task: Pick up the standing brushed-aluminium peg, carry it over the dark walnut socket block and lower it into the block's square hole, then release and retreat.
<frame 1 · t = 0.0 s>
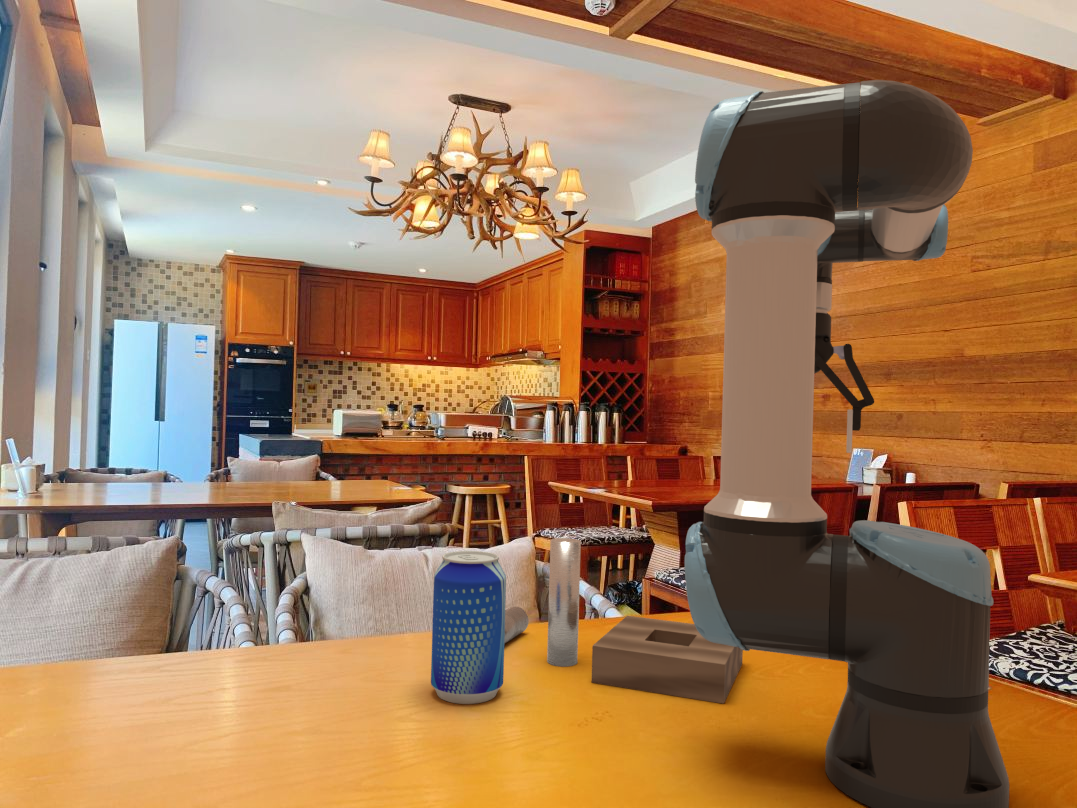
hand: (801, 450, 124), 28 cm above the table, fingers open, 13 cm apart
socket block: (670, 672, 103), on the table
peg: (562, 661, 106), on the table
beer can: (466, 694, 93), on the table
lying peg: (498, 643, 114), on the table
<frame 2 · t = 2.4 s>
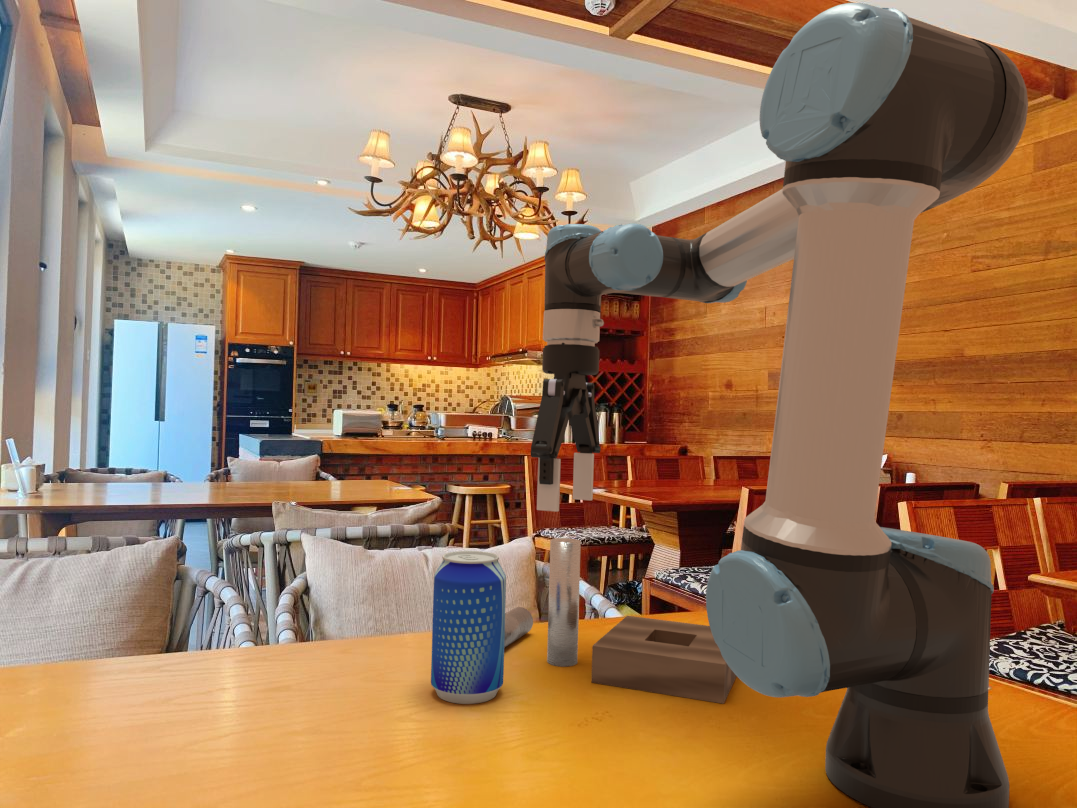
hand: (566, 505, 106), 21 cm above the table, fingers open, 13 cm apart
lying peg: (498, 642, 114), on the table, tilted 22°
everything else where it was.
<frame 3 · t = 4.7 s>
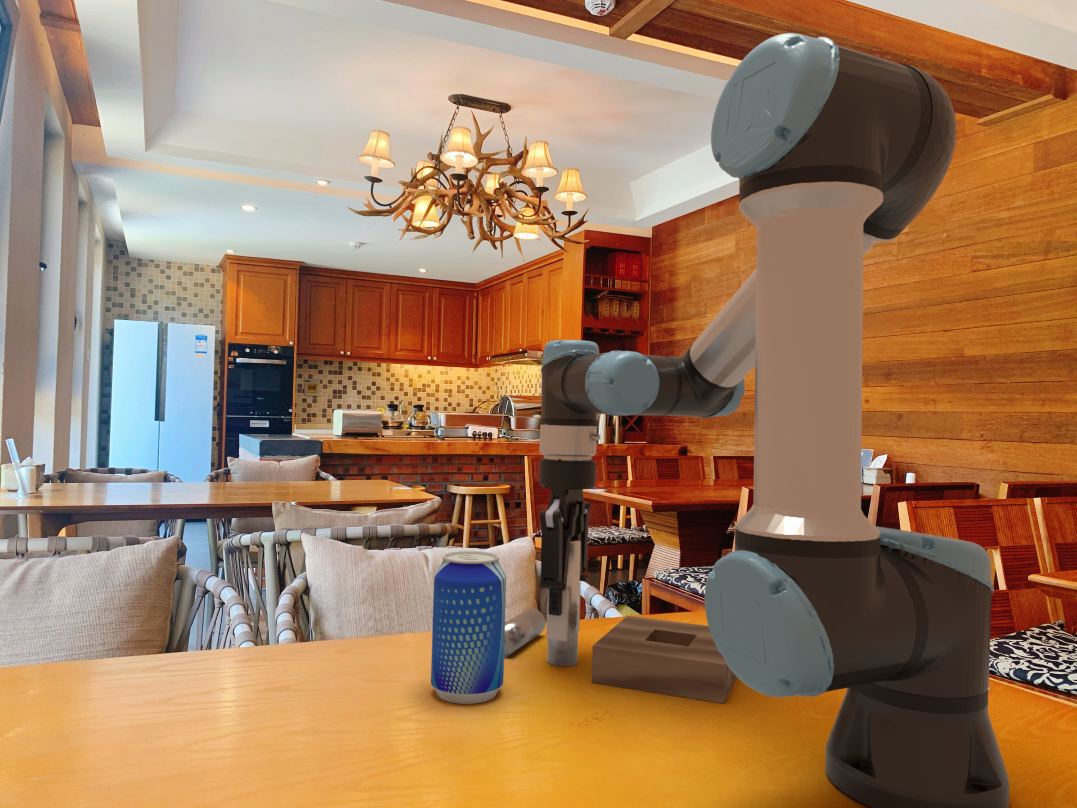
hand: (563, 634, 106), 4 cm above the table, fingers closed on peg, 4 cm apart
peg: (562, 661, 106), on the table, touching gripper
lying peg: (504, 632, 113), point 2 cm above the table, tilted 82°
everything else where it was.
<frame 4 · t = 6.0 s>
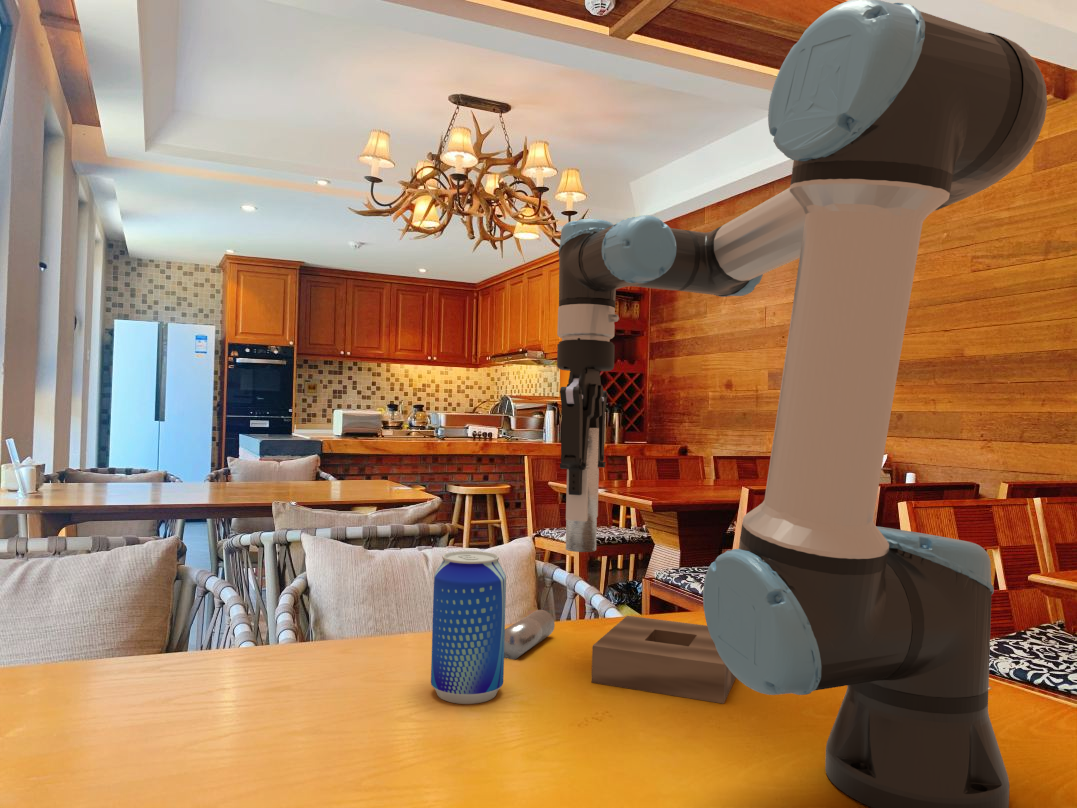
hand: (582, 517, 105), 19 cm above the table, fingers closed on peg, 4 cm apart
peg: (580, 549, 105), point 15 cm above the table, touching gripper
lying peg: (515, 623, 113), point 3 cm above the table, tilted 125°
everything else where it was.
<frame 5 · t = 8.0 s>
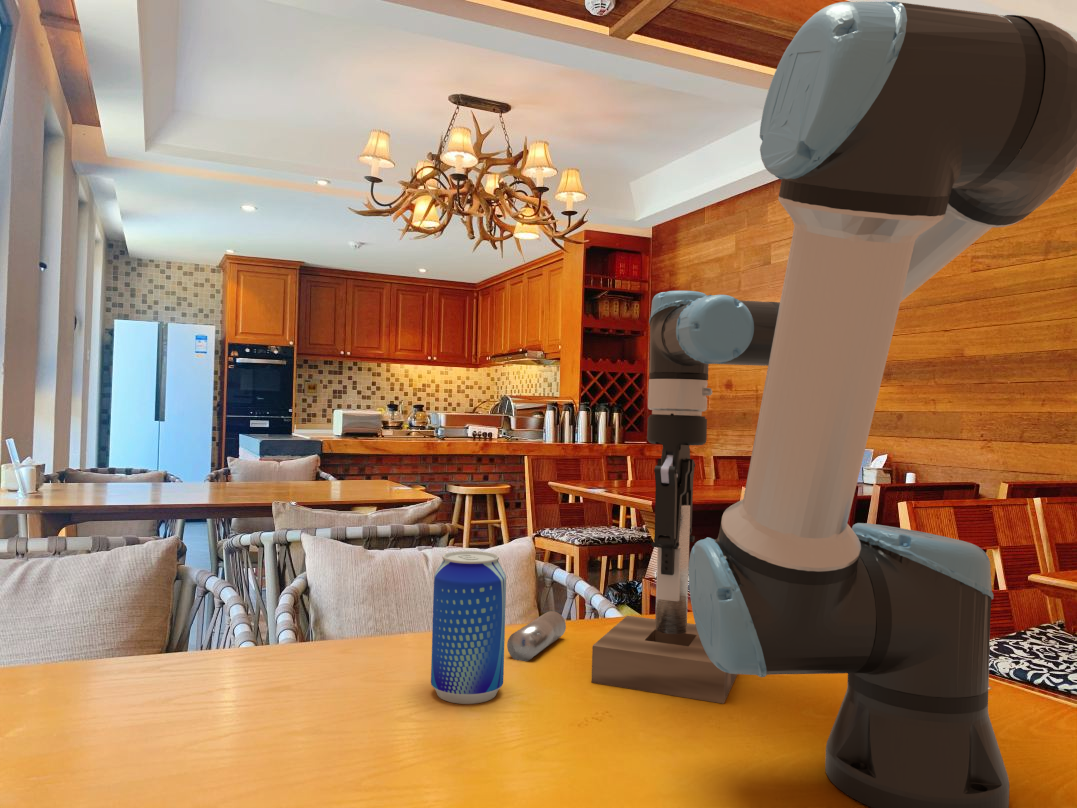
hand: (672, 595, 103), 10 cm above the table, fingers closed on peg, 4 cm apart
peg: (670, 629, 103), point 5 cm above the table, touching gripper
lying peg: (537, 620, 112), point 4 cm above the table, tilted 179°
everything else where it was.
when the fingers open (6 cm above the table, at t = 8.9 s): peg drops 2 cm, resting in socket block.
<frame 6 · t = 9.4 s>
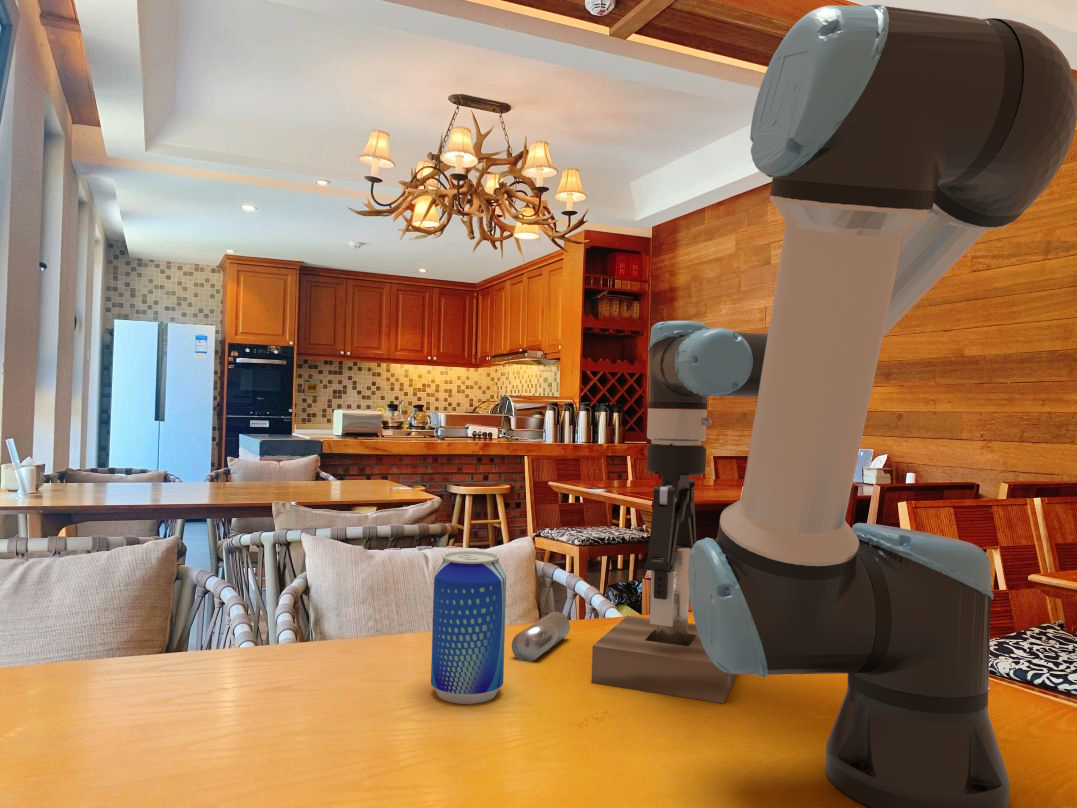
hand: (671, 613, 103), 8 cm above the table, fingers open, 11 cm apart
peg: (670, 672, 103), resting in socket block
lying peg: (546, 622, 111), point 4 cm above the table, tilted 162°
everything else where it was.
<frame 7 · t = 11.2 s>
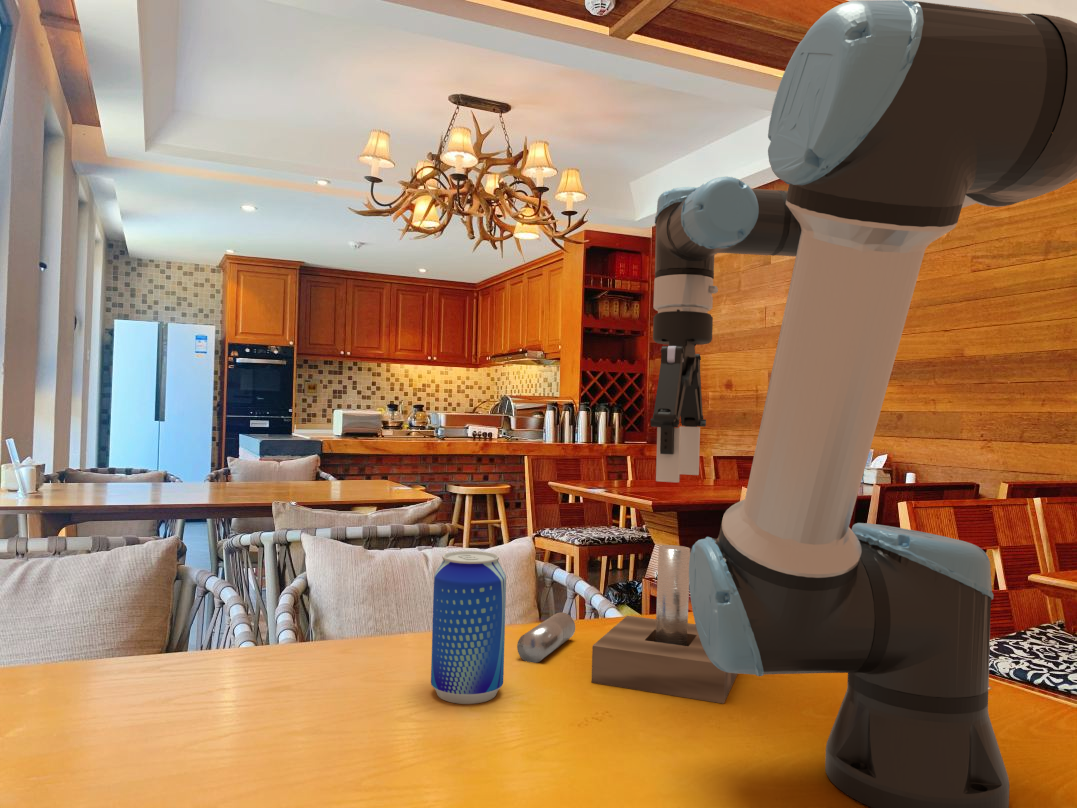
hand: (678, 478, 103), 25 cm above the table, fingers open, 13 cm apart
lying peg: (556, 627, 111), point 3 cm above the table, tilted 137°
everything else where it was.
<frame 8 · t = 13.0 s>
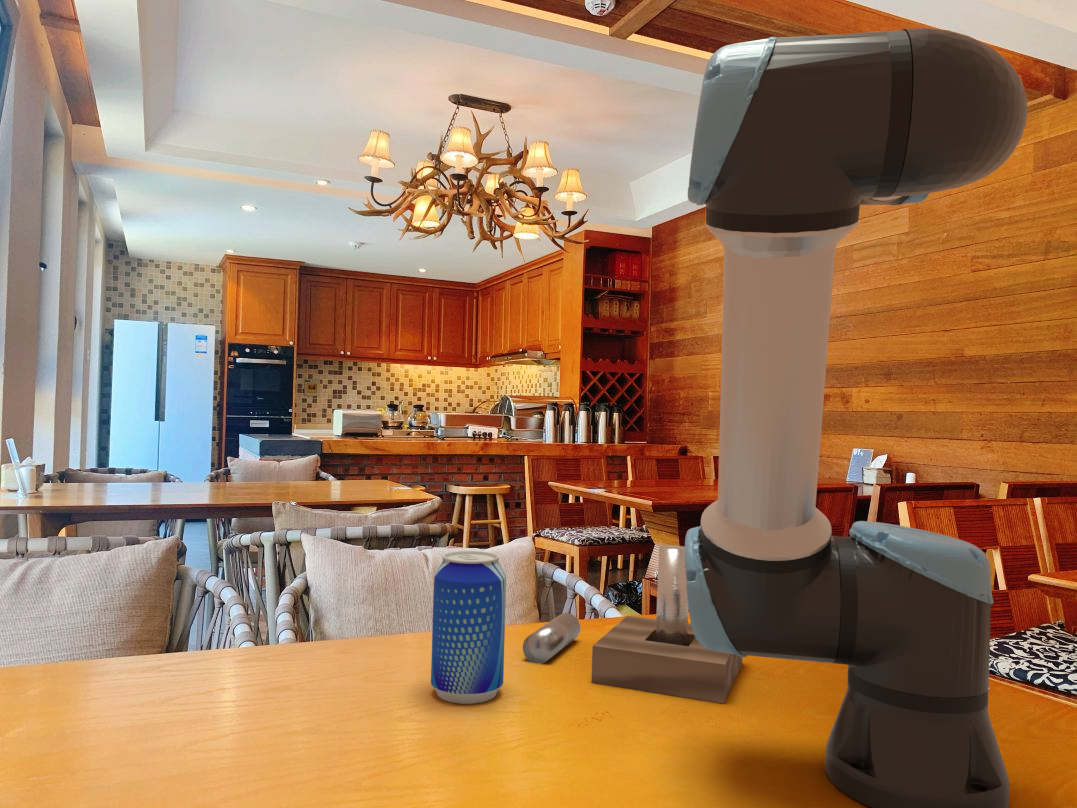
hand: (757, 427, 108), 32 cm above the table, fingers open, 13 cm apart
lying peg: (565, 633, 110), point 3 cm above the table, tilted 113°
everything else where it was.
at the end: peg 0.0 cm off-centre on the socket block, point 0.0 cm above the socket block's base; peg tilted 1°; the gripper is holding nothing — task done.
